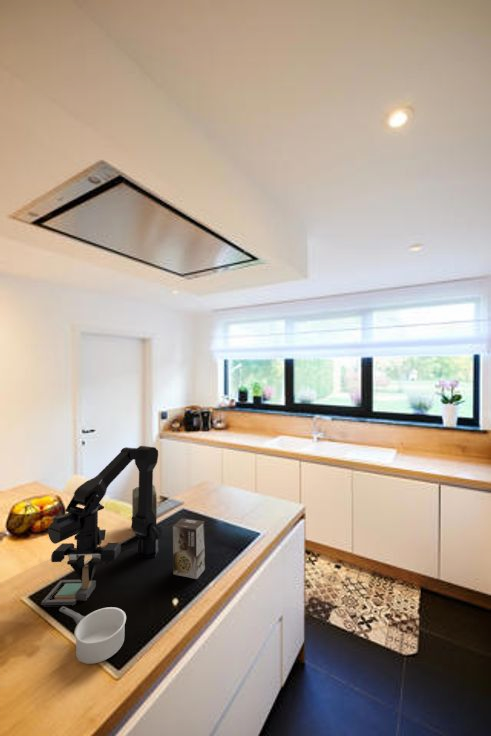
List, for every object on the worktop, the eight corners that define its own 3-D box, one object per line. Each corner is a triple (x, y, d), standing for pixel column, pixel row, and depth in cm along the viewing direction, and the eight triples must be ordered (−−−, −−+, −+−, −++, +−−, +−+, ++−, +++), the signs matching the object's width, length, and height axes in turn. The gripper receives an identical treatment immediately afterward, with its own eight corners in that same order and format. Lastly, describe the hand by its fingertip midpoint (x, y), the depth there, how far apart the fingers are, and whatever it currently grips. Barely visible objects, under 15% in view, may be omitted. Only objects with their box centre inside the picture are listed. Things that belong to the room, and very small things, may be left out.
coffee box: (205, 568, 108) (205, 520, 108) (196, 580, 102) (196, 529, 102) (182, 563, 111) (182, 517, 111) (172, 574, 105) (172, 525, 105)
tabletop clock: (156, 536, 131) (156, 475, 131) (133, 540, 127) (133, 477, 128) (153, 521, 144) (153, 466, 145) (132, 525, 141) (132, 468, 142)
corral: (90, 583, 100) (90, 579, 100) (74, 605, 90) (74, 601, 91) (60, 583, 100) (60, 580, 100) (41, 606, 90) (41, 602, 90)
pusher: (95, 587, 99) (96, 560, 99) (86, 600, 93) (87, 572, 93) (85, 586, 99) (87, 560, 99) (76, 600, 93) (77, 572, 93)
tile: (84, 589, 98) (85, 582, 98) (74, 602, 92) (75, 595, 92) (65, 589, 98) (65, 582, 98) (54, 603, 92) (54, 596, 92)
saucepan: (80, 614, 87) (80, 593, 88) (136, 637, 79) (136, 614, 80) (38, 646, 77) (39, 622, 77) (98, 677, 69) (98, 650, 69)
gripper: (127, 516, 104) (127, 564, 104) (70, 517, 104) (70, 565, 104) (114, 532, 93) (113, 586, 93) (50, 533, 93) (49, 587, 92)
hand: (86, 580), depth 96 cm, fingers closed on pusher, 2 cm apart
